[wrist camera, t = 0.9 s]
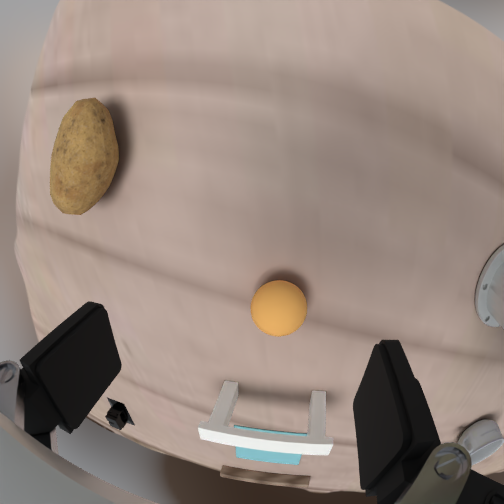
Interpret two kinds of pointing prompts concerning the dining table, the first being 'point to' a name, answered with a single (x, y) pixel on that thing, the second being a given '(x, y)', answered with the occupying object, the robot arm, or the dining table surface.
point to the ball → (278, 308)
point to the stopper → (265, 477)
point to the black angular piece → (118, 415)
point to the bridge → (266, 441)
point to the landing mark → (268, 455)
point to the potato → (83, 157)
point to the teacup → (481, 440)
